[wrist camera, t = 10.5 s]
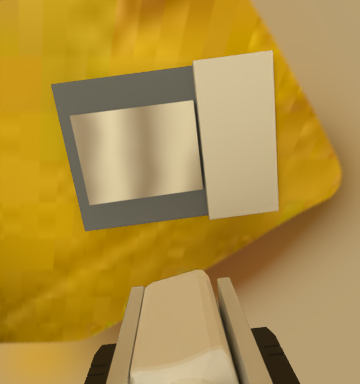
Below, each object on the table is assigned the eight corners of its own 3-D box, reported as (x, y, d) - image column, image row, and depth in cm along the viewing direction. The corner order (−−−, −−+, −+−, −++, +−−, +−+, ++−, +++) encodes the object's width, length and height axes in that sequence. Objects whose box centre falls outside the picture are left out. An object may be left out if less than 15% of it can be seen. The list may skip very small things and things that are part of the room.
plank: (93, 201, 27) (89, 205, 25) (75, 117, 25) (69, 115, 23) (200, 186, 27) (202, 189, 25) (191, 102, 25) (193, 100, 23)
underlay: (88, 228, 29) (79, 236, 26) (55, 86, 25) (42, 80, 23) (269, 204, 29) (278, 210, 26) (262, 59, 25) (272, 50, 23)
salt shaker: (204, 262, 15) (261, 477, 5) (221, 316, 15) (295, 581, 6) (142, 281, 15) (92, 521, 5) (162, 333, 16) (148, 617, 6)
